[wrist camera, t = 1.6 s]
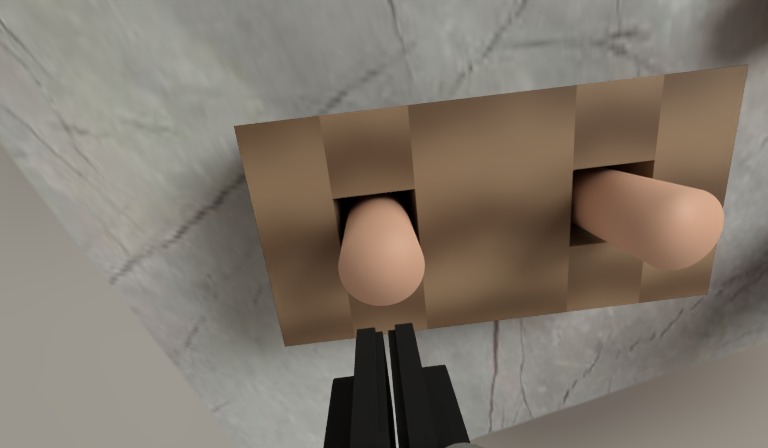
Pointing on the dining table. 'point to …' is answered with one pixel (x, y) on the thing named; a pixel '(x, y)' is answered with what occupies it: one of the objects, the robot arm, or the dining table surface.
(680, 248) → the peg
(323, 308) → the peg block
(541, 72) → the dining table surface
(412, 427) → the robot arm
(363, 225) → the peg
